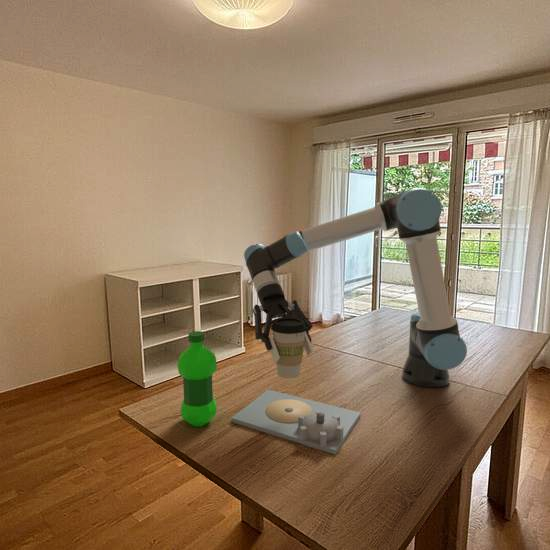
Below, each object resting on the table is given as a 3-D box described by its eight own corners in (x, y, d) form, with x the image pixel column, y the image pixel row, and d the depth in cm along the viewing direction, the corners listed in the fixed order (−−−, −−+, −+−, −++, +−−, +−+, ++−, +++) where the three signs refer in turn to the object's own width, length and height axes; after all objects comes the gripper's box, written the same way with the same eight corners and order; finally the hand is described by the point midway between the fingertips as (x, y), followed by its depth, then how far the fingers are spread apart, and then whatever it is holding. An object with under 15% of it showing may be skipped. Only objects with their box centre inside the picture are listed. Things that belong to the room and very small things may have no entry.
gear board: (360, 416, 109) (361, 395, 108) (334, 455, 91) (335, 431, 90) (268, 392, 123) (268, 374, 122) (230, 422, 106) (230, 401, 105)
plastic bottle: (195, 436, 99) (192, 342, 95) (172, 421, 106) (168, 333, 102) (225, 421, 106) (223, 333, 103) (202, 408, 114) (200, 325, 110)
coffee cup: (281, 383, 101) (281, 328, 99) (264, 370, 110) (264, 319, 108) (313, 376, 106) (314, 323, 104) (294, 364, 114) (295, 315, 112)
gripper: (296, 293, 123) (323, 356, 112) (230, 300, 113) (252, 370, 102) (305, 279, 118) (334, 344, 106) (236, 285, 108) (260, 357, 96)
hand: (294, 357), depth 104 cm, fingers closed on coffee cup, 10 cm apart
